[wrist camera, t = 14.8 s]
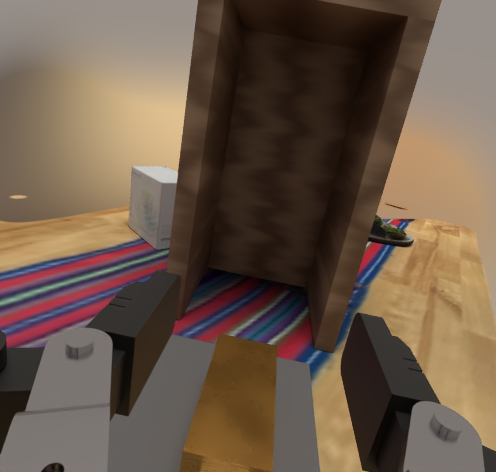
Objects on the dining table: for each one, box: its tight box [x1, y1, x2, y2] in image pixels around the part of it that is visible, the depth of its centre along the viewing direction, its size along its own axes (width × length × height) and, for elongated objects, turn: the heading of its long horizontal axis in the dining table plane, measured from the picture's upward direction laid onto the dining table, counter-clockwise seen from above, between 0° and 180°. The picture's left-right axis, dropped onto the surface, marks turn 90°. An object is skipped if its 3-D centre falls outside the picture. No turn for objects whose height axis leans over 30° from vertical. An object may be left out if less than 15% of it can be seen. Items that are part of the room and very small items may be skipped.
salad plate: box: [368, 215, 414, 246], centre depth 86 cm, size 19×18×5 cm
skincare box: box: [129, 166, 178, 250], centre depth 56 cm, size 10×6×10 cm, turn 40°
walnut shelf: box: [167, 0, 442, 353], centre depth 39 cm, size 18×16×32 cm
